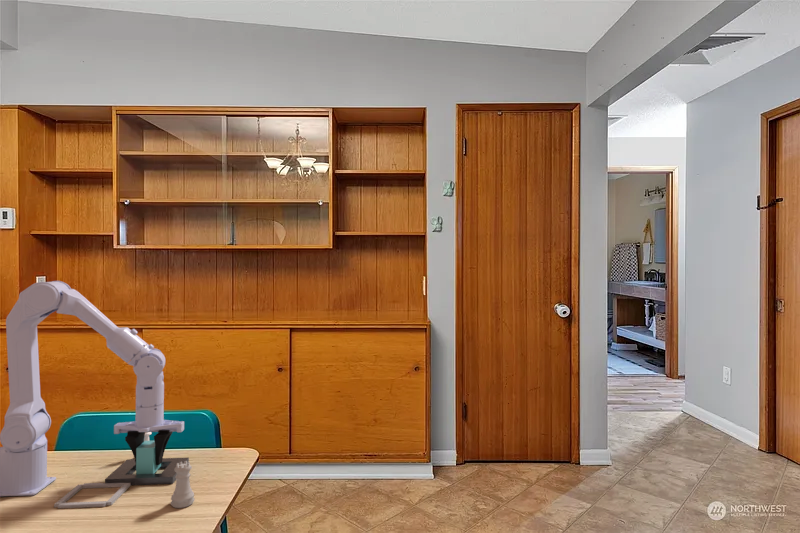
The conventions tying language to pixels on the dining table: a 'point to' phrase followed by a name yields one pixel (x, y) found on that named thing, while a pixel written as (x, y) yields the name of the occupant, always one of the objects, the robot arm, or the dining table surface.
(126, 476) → the port block
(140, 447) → the plug
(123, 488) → the open picture frame
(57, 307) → the robot arm
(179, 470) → the rook chess piece
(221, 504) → the dining table surface
